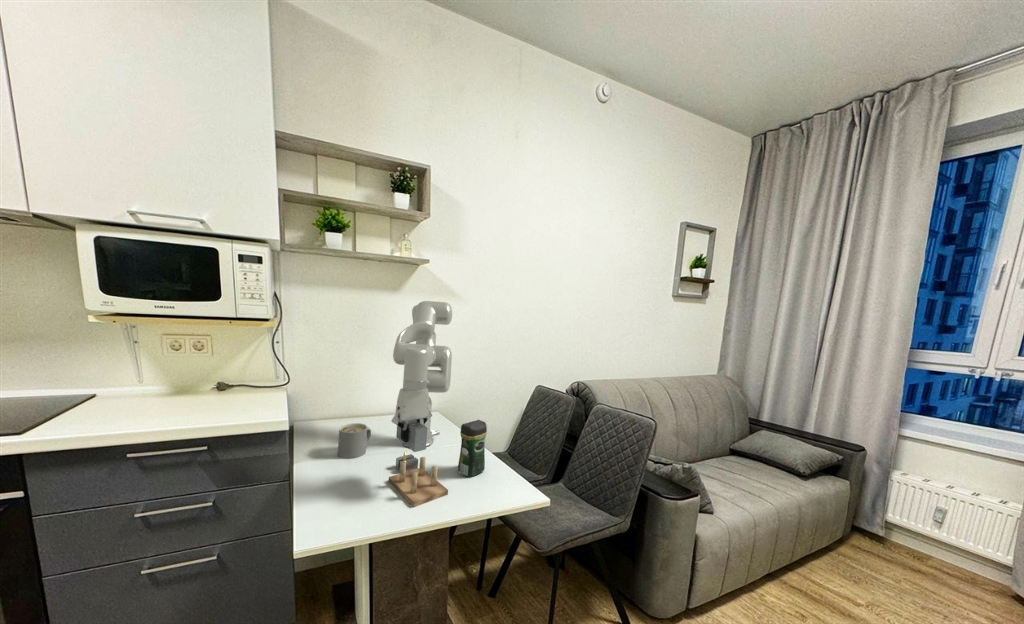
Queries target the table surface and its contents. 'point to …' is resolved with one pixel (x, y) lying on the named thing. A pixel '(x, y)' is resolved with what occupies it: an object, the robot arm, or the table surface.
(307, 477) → the table surface
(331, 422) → the table surface
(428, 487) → the rack
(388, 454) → the table surface
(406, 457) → the slot block
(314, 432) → the table surface
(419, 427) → the steel bar
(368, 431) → the coffee mug
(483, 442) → the coffee jar
